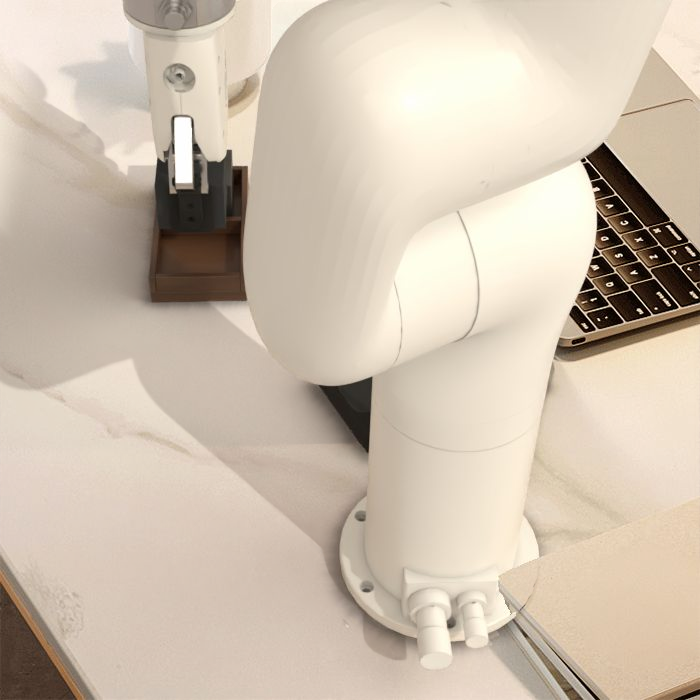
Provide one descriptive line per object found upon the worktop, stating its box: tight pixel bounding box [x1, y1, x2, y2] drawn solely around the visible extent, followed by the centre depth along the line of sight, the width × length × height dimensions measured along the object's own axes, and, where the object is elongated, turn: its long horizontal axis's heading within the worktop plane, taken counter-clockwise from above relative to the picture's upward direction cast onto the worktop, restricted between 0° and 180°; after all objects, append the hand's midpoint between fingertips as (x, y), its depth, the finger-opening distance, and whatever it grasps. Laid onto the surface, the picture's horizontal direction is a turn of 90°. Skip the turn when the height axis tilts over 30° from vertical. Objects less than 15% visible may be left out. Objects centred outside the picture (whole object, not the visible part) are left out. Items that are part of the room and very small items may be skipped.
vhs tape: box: [318, 376, 373, 454], centre depth 91 cm, size 8×14×2 cm, turn 118°
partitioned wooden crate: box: [148, 149, 250, 303], centre depth 102 cm, size 14×7×5 cm, turn 3°
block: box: [153, 146, 227, 229], centre depth 95 cm, size 5×5×4 cm
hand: (194, 203), depth 97 cm, fingers closed on block, 5 cm apart
